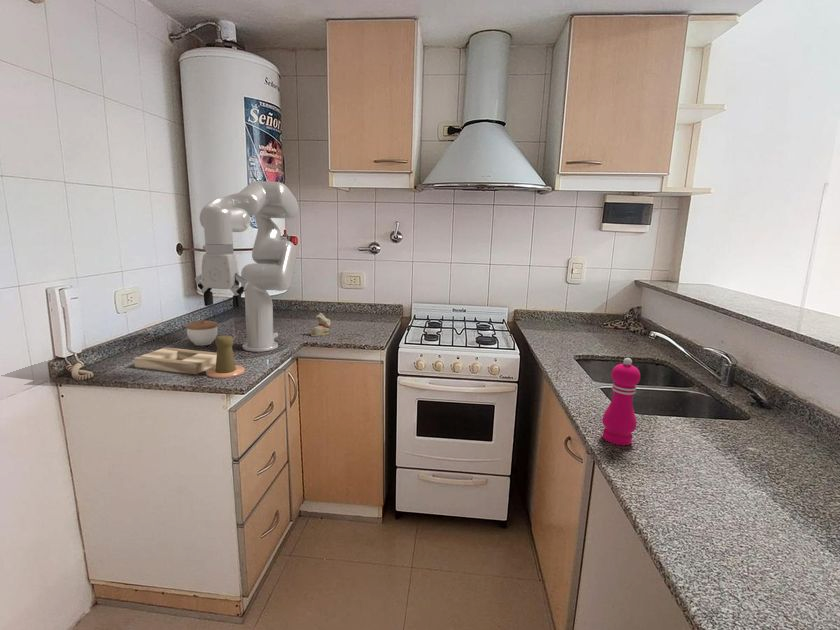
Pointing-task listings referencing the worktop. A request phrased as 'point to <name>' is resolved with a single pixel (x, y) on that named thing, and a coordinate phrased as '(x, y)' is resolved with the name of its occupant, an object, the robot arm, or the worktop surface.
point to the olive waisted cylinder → (224, 355)
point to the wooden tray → (177, 360)
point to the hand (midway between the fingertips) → (223, 306)
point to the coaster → (214, 374)
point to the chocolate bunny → (321, 325)
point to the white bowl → (202, 332)
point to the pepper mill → (621, 405)
